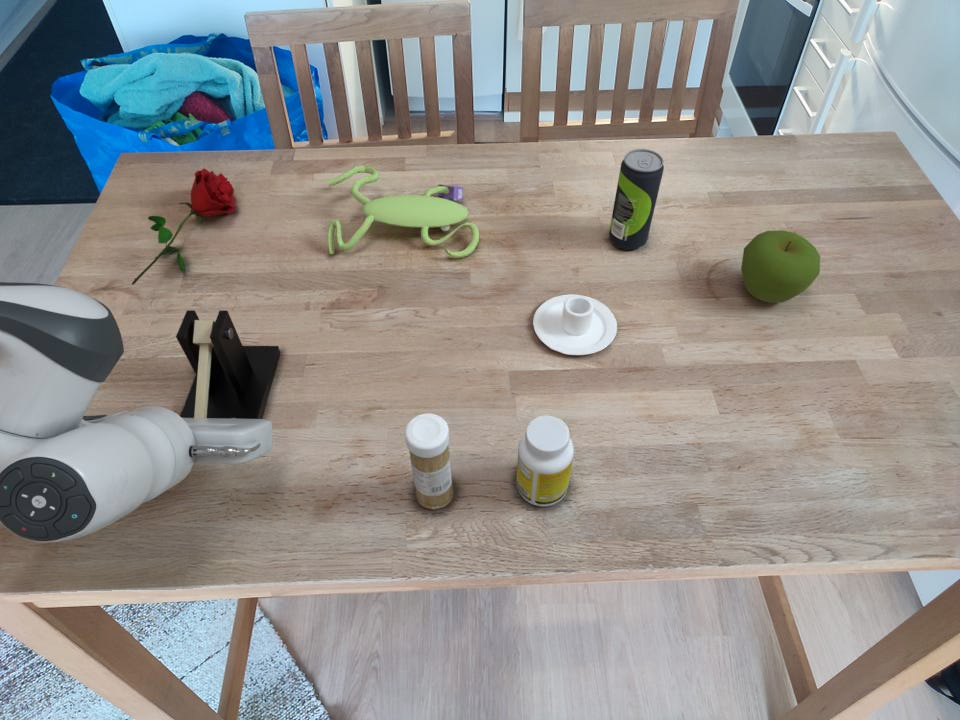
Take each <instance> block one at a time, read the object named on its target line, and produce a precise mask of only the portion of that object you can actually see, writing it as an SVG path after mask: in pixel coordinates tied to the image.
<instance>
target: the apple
mask: <svg viewBox="0 0 960 720" xmlns="http://www.w3.org/2000/svg"><path fill="white" fill-rule="evenodd" d="M740 266H741V267H740V271H741V275H742V279H743V282H744V286H745V289H746V291H748V292H749V294H750V295H752V297H755V298H757V299H758V300H760V301H763V302H767V303H775V304H776V303H777V304H778V303H780V304H781V303H784V302H787V301H789V300H791V299H793V298H795V297H796V296H799V295H800V294H802V293H804V292H805V291H806V290H807V289H808V288H809V287H810V286H811V285H812V284H813V283H814V281H816V279H817V278H818V277H819V275H820V269H821V255H820V253H819V252H818V250H817V248H816V247H815V245H813V244H812V243H811V242H810V241H809V240H807V239H806V238H805V237H803V236H802V235H799V234H797V232H792V231H787V230H766V231H764V232H761V233H759V234H757V235H755V237H753V238H752V239H751V240H750V241H749V242H748V243H747V245H746V246H744V248H743V253H742V261H741V265H740Z"/></svg>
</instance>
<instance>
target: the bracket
mask: <svg viewBox="0 0 960 720" xmlns="http://www.w3.org/2000/svg"><path fill="white" fill-rule="evenodd" d="M195 320H200V318H199V316H198V314H197V311H196V310H191V309H189V310H186V312H185V314H184V317H183V319H182V321H181V324H180V326H179V328H178V331H177V332H176V335H175V338H176V340H177V342H178V344H179V345H180V348H181V349H182V351H183V353H184V356H185V357H186V358H187V361H188V363H189V365H190V366H191V368H192V370H193V372H194V373H195V376H194V378H193V380H192V383H191V387H190V389H189V392H188V395H187V397H186V400H185V402H184V405H183V407H182V410H181V413H180V415H179V416H180V417H184V418H194V413H195V400H196V387H197V375H198V362H199V350H200V346H199V345H197V344H194V343H193V335H194V322H195ZM214 321H215V324H214V327H213V329H212V332H211V334H210V339H211V341H212V343H213V345H214V347H212V353H211V366H210V379H209V392H208V405H207V418H236V419H263V417H264V414H265V411H266V406H267V403H268V399H269V396H270V392H271V389H272V384H273V382H274V378H275V374H276V371H277V368H278V364H279V361H280V356H281V350H280V347H279V346H278V345H243V344H242V341H241V339H240V337H239V334H238V332H237V330H236V327H235V325H234V322H233V320H232V318H231V316H230V313H229V310H219V311H218V314H217V315H216V319H215V320H214Z"/></svg>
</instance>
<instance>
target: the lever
mask: <svg viewBox="0 0 960 720" xmlns="http://www.w3.org/2000/svg"><path fill="white" fill-rule="evenodd" d="M215 321H216V320H212V319H199V320H195V322H194V335H193V343H194V344H197V345H199V346H200V350H199V362H198V375H197V387H196V400H195V413H194V418H207V405H208V392H209V379H210V366H211V353H212V347H214V345H213V343H212V341H211V339H210V334H211V332H212V329H213V327H214V324H215Z"/></svg>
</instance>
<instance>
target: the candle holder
mask: <svg viewBox="0 0 960 720" xmlns="http://www.w3.org/2000/svg"><path fill="white" fill-rule="evenodd" d="M532 320H533V321H532V324H533V329H534V332H535V334H536V336H537V337H538V339H539V340H540V341H541V342H542V343H543V344H544V345H545V346H547V347H548V348H549V349H551V350H552V351H556V352H559V353H561V354H564V355H569V356H570V355H571V356H585V355H591V354H596V353H598V352H600V351H602V350H603V349H605V348H607V347H608V346H609V345H611V343H612V342H613V341H614V340H615V338H616V335H617V332H618V323H617V320H616V316H615V315H614V313H613V312H612V310H611V309H610V308H609V307H608V306H606V304H604V303H603V302H601V301H600V300H598V299H595V298H594V297H593V298H592V297H590V296H587V295H582V294H574V293H573V294H561V295H557V296H554V297H551V298H549V299H547V300H546V301H544V302H542V303H541V304H540V305H539V307H538V308H537V309H536V311H535V312H534V315H533V318H532Z"/></svg>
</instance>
